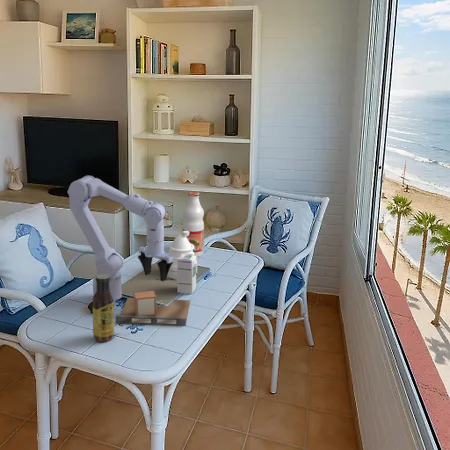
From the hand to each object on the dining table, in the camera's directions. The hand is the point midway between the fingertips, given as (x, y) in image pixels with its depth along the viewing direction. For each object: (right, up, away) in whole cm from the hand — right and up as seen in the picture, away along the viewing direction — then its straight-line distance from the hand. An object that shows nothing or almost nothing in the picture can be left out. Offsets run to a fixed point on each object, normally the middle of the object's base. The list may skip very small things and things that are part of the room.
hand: (155, 277), depth 170 cm
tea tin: (-2, -11, -7) cm, 14 cm away
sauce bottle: (-13, -16, -20) cm, 29 cm away
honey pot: (+6, -2, +29) cm, 30 cm away
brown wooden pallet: (+1, -12, -5) cm, 13 cm away
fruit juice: (+9, +5, +51) cm, 52 cm away
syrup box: (+10, -7, +12) cm, 17 cm away
